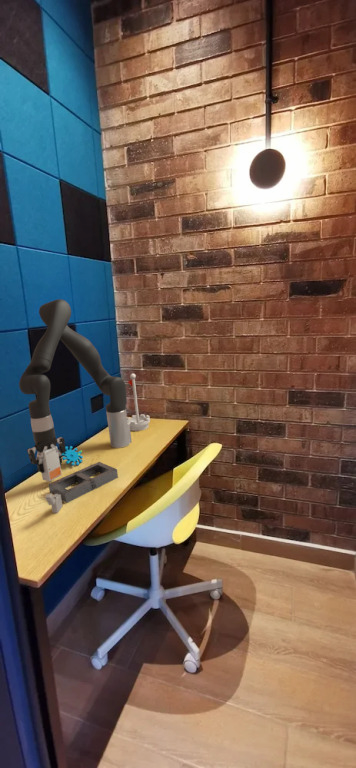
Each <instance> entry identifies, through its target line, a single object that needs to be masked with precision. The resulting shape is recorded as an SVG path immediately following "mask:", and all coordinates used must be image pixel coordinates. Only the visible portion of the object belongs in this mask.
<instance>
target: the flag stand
mask: <svg viewBox="0 0 356 768" xmlns="http://www.w3.org/2000/svg"><path fill="white" fill-rule="evenodd" d="M129 377H130V380H128V381H127V383H128V384H129V385H130V386H132V392H133V401H134V402H133V403H134V409H135V415H134V414H132V415H131V417H130V416H129V417H128V416H127V421H128V423H129V424H130V432H132V431H133V432H139V431H144V430H146V429H148V428H149V424H150V422H151V419H150V417H151V416H150V415H148V414H147V415H145V414H140V415H139V413H140V412H139V407H138V406H139V405H138V395H137V387H136V377H137V375H136V374H135V373H130V376H129Z"/></svg>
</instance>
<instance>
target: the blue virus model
mask: <svg viewBox="0 0 356 768" xmlns="http://www.w3.org/2000/svg"><path fill="white" fill-rule="evenodd" d="M82 453H83V450H82V449H81V450H80V449H79V451H78V448H77V447H75V448H74V449H73V446H72V445H70V446H67V445H65V453H63V454H62V455H61V457H62V462H63V461H65V464H66V465H69V464H70V466H72V467H74V466H79V465H80V464H81V463H82V462H83V458H84V456H83V455H82Z"/></svg>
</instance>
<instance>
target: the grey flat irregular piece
mask: <svg viewBox="0 0 356 768" xmlns="http://www.w3.org/2000/svg"><path fill="white" fill-rule="evenodd" d="M44 498H45V500H46V502H47V504H48V505H49V506H51V511H52V514H58V513H59V512H60V510H61V509H62V508H63V501H62V500H61V495H58V494H54V495H53V494H51V493H46V495H45V496H44Z"/></svg>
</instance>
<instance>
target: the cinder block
mask: <svg viewBox="0 0 356 768" xmlns="http://www.w3.org/2000/svg"><path fill="white" fill-rule="evenodd" d="M97 474H98V475H97ZM118 478H119V475H118V469H117V468H116V467H113V466H109V465H108V464H106V463H103V462H100V461H98V462H95V463H93V464H91V465H88V466H86V467H84V468H82V469H79V470H77V471H75V472H72V473H70V474H67V475H66V476H63V477H61V478H58V479H56V480H53V481H51V482H49V483H48V491H49V494H52V495H53V496H54V494H58V495H61V500H62V502H64V503H66V504H68V503H70V502H72V501H74V500H76V499H78V498H80V497H81V496H84V495H86V494H88V493H90V492H93V491H94V490H96V489H98V488H100V487H102V486H104V485H106V484H108V483H110V482H113V481H114V480H116V479H118ZM75 484H77V485H75ZM71 486H73V487H71ZM69 487H70V488H69ZM67 488H68V489H67Z"/></svg>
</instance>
